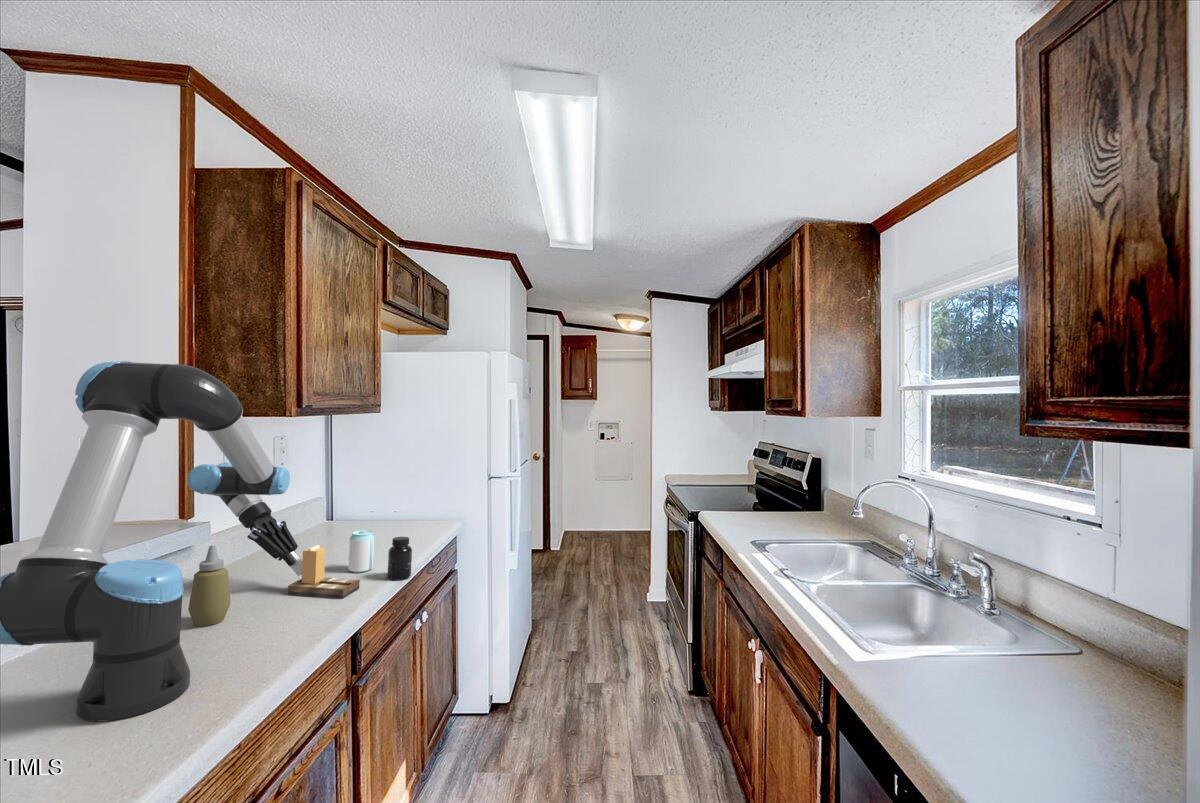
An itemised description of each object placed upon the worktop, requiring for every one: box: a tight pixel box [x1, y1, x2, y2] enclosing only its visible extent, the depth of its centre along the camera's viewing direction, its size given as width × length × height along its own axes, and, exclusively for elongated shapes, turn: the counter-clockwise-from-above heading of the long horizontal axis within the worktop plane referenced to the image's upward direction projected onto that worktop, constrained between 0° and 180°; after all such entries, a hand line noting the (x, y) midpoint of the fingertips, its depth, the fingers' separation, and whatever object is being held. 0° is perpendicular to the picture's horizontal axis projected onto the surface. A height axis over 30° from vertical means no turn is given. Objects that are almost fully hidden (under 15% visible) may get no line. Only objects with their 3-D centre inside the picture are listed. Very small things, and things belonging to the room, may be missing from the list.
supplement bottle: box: [386, 536, 413, 581], centre depth 160 cm, size 7×7×12 cm
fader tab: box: [301, 544, 326, 584], centre depth 146 cm, size 4×4×11 cm
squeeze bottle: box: [188, 545, 231, 627], centre depth 124 cm, size 8×8×18 cm
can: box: [348, 529, 375, 574], centre depth 165 cm, size 7×7×12 cm
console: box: [287, 576, 361, 600], centre depth 146 cm, size 16×8×3 cm, turn 85°
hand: (303, 572), depth 147 cm, fingers closed
